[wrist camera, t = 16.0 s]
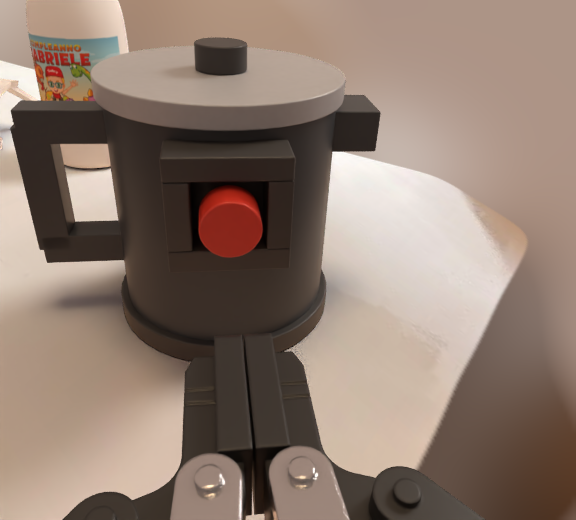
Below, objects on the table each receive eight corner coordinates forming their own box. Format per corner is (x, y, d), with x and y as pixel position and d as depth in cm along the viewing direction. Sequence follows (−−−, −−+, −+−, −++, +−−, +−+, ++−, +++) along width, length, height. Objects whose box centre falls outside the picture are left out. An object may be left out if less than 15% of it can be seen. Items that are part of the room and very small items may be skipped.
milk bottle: (73, 138, 52) (30, -105, 42) (150, 143, 52) (126, -100, 41) (38, 167, 46) (-25, -112, 35) (125, 173, 46) (88, -106, 35)
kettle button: (262, 257, 20) (263, 201, 19) (200, 259, 20) (197, 203, 19) (258, 236, 22) (259, 183, 20) (200, 238, 21) (197, 184, 20)
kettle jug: (381, 372, 26) (437, 84, 19) (22, 397, 24) (-82, 78, 16) (328, 241, 37) (350, 25, 30) (77, 249, 35) (31, 16, 27)
